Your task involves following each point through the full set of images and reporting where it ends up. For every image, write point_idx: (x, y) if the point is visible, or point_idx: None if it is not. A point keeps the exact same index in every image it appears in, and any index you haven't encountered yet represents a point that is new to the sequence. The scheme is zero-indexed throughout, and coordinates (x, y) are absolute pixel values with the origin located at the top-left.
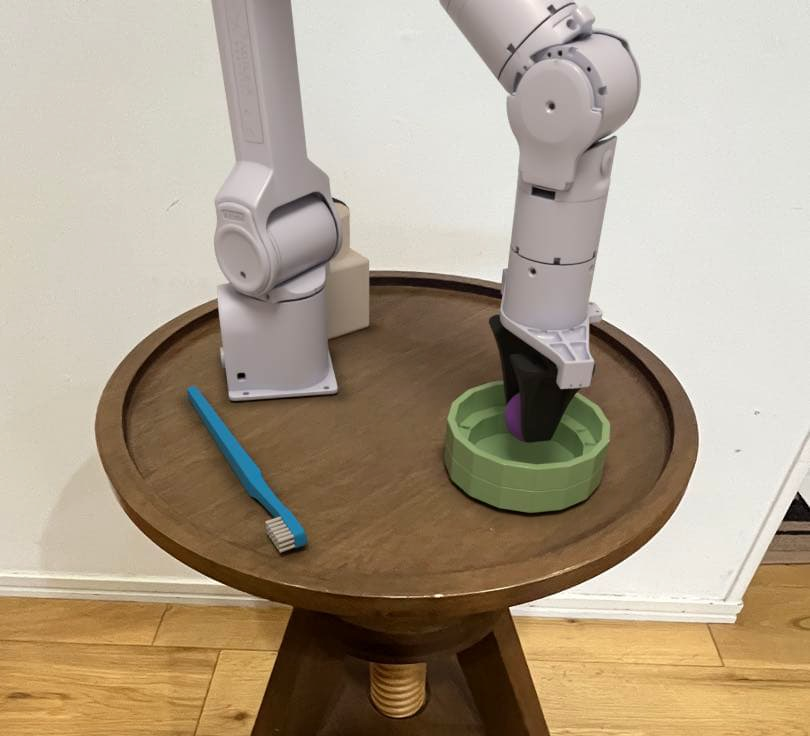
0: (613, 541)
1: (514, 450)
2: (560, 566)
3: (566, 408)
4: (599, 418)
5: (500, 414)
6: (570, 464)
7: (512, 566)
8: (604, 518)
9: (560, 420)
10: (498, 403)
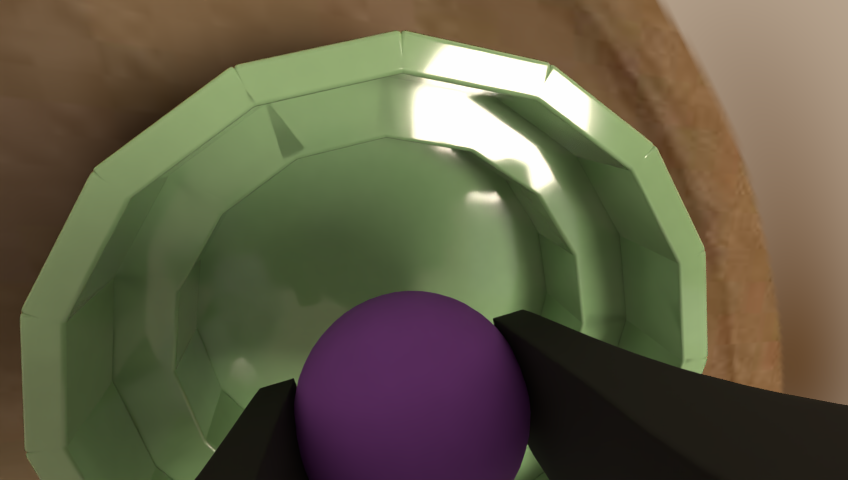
0: (689, 66)
1: (314, 333)
2: (751, 211)
3: (650, 358)
4: (359, 82)
5: (205, 433)
6: (697, 248)
7: (736, 312)
8: (600, 75)
9: (580, 332)
10: (145, 457)
